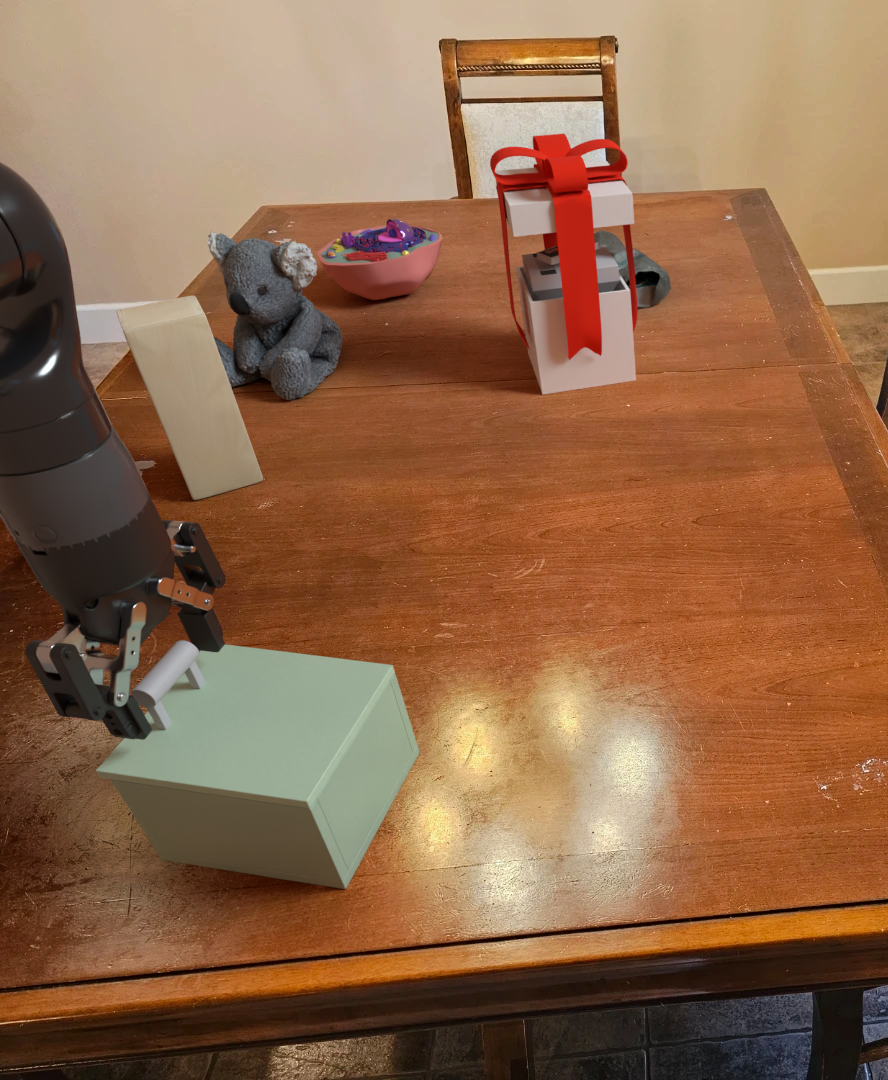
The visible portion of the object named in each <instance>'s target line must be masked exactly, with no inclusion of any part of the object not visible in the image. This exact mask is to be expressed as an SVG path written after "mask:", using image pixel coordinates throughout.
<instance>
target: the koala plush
mask: <svg viewBox="0 0 888 1080" xmlns="http://www.w3.org/2000/svg"><path fill="white" fill-rule="evenodd" d="M209 233H210V234H208V236H207V237H208V238H207V239H206V240H207V241H206V243H207V246H208V249H209V252H210V254H211V256H212V257H213V260H214V261H215V263H217V266H218V269H219V272H220V273H221V275H222V276H223V277H222V278H223V282H224V283H223V284H224V286H225V291H226V292H225V293H226V294H225V296H226V300H227V303H228V305H229V308H230V309H231V310H232V311H233V312H234V313H235V314H237V316H236V321H235V324H234V326H233V327H234V328H233V335H232V336H233V337H232V341H233V342H232V345H233V349H232V348H230V347H229V345H228V344H226V343H225V342H223V341H222V340H221V339H219V338H218V337H217V336H214V335H213V337H214V340H215V343H216V345H217V348H218V351H219V354H220V357H221V360H222V362H223V365H224V368H225V371H226V374H227V377H228V379H229V382H230V385H231V388H235V387H239V386H242V385H246V384H250V383H252V382H255V381H257V380H259V379H261V378H264V379H266V380H267V381H270V383H271V387H272V389H273V392H274V393H275V394H276V396H278V397H280V398H281V399H283V400H287V401H291V400H295V399H298V398H300V399H301V398H304V396H306V395H308V394H310V393H311V392H313V391H315V390H316V388H318V387H319V386H320V384H322V382H324V380H325V379H326V377H328V376H330V375H331V374H334V372H335V370H336V369H337V365H338V364H339V358H340V357H341V353H342V347H343V344H344V343H343V342H344V341H343V338H344V336H343V334H342V329H341V328H340V326H339V325H338V323H336V322H335V321H334V320H333V319H332V318H330V316H328V315H327V314H325V313H324V312H322V311H321V310H319V309H317V308H316V307H315V304H314V303H313V302H312V301H311V300H309V299H308V298H307V297H306V296H304V295H303V290H304V289H305V288H307V287H309V285H310V284H311V283H312V281H313V278H314V277H316V276H317V271H318V265H317V264H318V262H317V260H316V259H315V258H314V254H313V253H312V250H311V249H312V247H308V246H307V244H305V243H299V242H296V240H293V241H292V240H291V241H287V242H283V243H281V244H279V246H278V245H275V244H274V243H273V242H270V240H269V241H268V240H262V239H260V238H255V237H251V238H244V239H242V240H240V241H239V242H238V243H237V242H236V241H235V239H233V238H230V237H229V236H227V235H226V234H224V233H222V232H219V233H216V232H214V231H213V229H212V230H211V231H210V232H209Z"/></svg>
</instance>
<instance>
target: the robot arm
mask: <svg viewBox="0 0 888 1080" xmlns="http://www.w3.org/2000/svg"><path fill="white" fill-rule="evenodd" d="M72 273H73V272H72V267H71V262H70V256H69V252H68V247H67V244H66V241H65V239H64V236H63V232H62V230H61V227H60V225H59V223H58V220H57V219H56V217H55V216H54V213H53V211H52V210H51V208H50V206H49V205H48V204H47V203H46V201H45V200H44V198H43V197H42V196H41V194H40V193H39V192H38V191H37V189H35V187H33V185H31V183H29V181H27V179H25V177H23V176H22V175H21V174H20V173H18V172H17V171H15V170H14V169H13V168H11V167H10V166H8V165H7V164H6V163H3V162H2V161H0V519H1V520H2V522H3V524H4V525H5V528H6V529H7V530H8V532H9V534H10V535H11V537H12V539H13V540H14V542H15V544H16V545H17V547H18V549H19V551H20V552H21V554H22V556H23V558H24V559H25V561H26V563H27V564H28V566H29V568H30V570H31V571H32V572H33V574H34V576H35V578H36V579H37V581H38V583H39V585H40V586H41V588H42V589H43V590H44V591H45V592H46V593H47V594H48V595H49V596H50V597H51V598H53V599H54V600H55V601H56V602H57V603H58V604H59V606H60V608H61V610H62V617H63V618H62V619H63V627H61V628H60V629H59V630H58V631H56V633H54V634H53V635H52V636H51V637H50V638H48V639H47V640H40V639H33V640H31V641H30V642H28V644H27V645H26V647H25V650H24V652H25V653H24V654H25V657H26V658H27V661H28V663H29V664H30V666H31V667H32V669H33V672H34V673H35V675H36V677H37V678H38V680H39V682H40V684H41V686H42V688H43V689H44V691H45V694H46V695H47V697H48V698H49V700H50V702H51V704H52V706H53V707H54V710H55V711H56V713H57V714H58V716H59V717H64V718H75V719H82V720H83V719H84V720H88V721H93V722H98V721H102V722H103V724H104V726H105V727H106V729H107V731H108V733H109V734H110V735H111V736H113V737H115V738H120V739H124V738H126V739H134V740H135V739H141V740H144V739H146V737H147V736H148V735H149V734H150V733H151V731H152V728H151V726H150V724H149V722H148V721H147V719H146V717H145V714H144V712H143V710H142V708H141V706H140V705H139V704H138V703H137V701H136V700H135V698H134V696H132V695H131V694H130V687H131V677H132V671H133V670H136V669H137V668H138V667H139V662H140V652H141V645H142V644H143V643H144V642H145V641H146V640H147V639H148V638H149V636H150V635H151V634H152V632H153V630H154V628H155V627H157V626H158V625H160V624H161V623H162V622H164V621H165V620H166V619H167V618H168V617H169V616H170V615H171V612H170V608H171V606H172V607H176V608H180V609H179V611H178V612H176V614H177V616H178V618H179V621H180V623H181V625H182V627H183V628H184V631H185V632H186V635H187V637H188V638H189V642H190V643H192V644H193V645H194V646H196V648H197V649H198V650H199V652H200V651H209V652H219V651H220V650H221V648H222V647H223V646H224V645H225V644H226V642H225V641H224V638H223V637H224V631H223V628H222V625H221V624H220V621H219V618H218V616H217V614H216V612H215V610H214V608H213V607H214V606H215V598H214V597H215V596H213V595H214V592H215V590H216V589H221V588H223V587H224V585H225V584H226V581H227V580H226V579H227V578H226V574H225V572H224V571H223V568H222V566H221V564H220V562H219V560H218V558H217V556H216V554H215V552H214V551H213V549H212V546H211V545H210V542H209V541H208V538H207V537H206V534H205V532H204V531H203V528H202V526H201V525H200V524H199V523H198V522H191V521H183V520H182V521H180V520H173V519H162V517H161V516H160V513H159V511H158V509H157V507H156V505H155V502H154V500H153V499H152V497H151V494H150V492H149V490H148V488H147V486H146V483H145V482H144V479H143V477H142V475H141V473H140V471H139V468H138V466H137V464H136V462H135V460H134V458H133V457H132V454H131V453H130V451H129V450H128V448H127V446H126V445H125V443H124V442H123V440H122V439H121V438H120V436H119V434H118V433H117V431H116V429H115V427H114V426H113V423H112V422H111V419H110V418H109V415H108V413H107V410H106V409H105V407H104V404H103V403H102V401H101V398H100V396H99V394H98V391H97V390H96V387H95V386H94V383H93V381H92V379H91V377H90V375H89V373H88V371H87V369H86V367H85V363H84V357H83V349H82V337H81V330H80V329H81V328H80V323H79V318H78V311H77V304H76V295H75V288H74V280H73V274H72ZM175 565H176V567H177V569H178V570H179V572H180V575H181V576H182V578H183V580H184V581H185V583H186V584H185V583H183V582H180V581H177V580H176V579H175V578H174V577H175ZM101 644H104V645H107V646H115V647H118V654H117V655H115V654H114V655H113V654H105V653H104V652H102V649H101ZM105 671H108V672H109V685H104V678H105V677H104V676H105Z"/></svg>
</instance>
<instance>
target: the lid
mask: <svg viewBox="0 0 888 1080" xmlns="http://www.w3.org/2000/svg"><path fill="white" fill-rule="evenodd" d="M394 673H395V674H396V671H395V668H394V665H393V664H387V663H379V662H371V661H363V660H354V659H347V658H340V657H332V656H324V655H323V656H322V655H315V654H307V653H298V652H291V651H281V650H274V649H268V648H267V649H265V648H257V647H250V646H241V645H233V644H226V643H225V645H224V646H223V647H222V648H221V650H220V651H219V652H209V651H200V650H198V649H197V648H196V646H194V645H193V644H192V643H191V641H188V640H184V639H179V640H177V641H176V642H175V643H173V645H172V646H171V647H170V648H169V649H168V650H167V652H165V654H164V655H162V657H161V658H160V659H159V660H158V661H157V663H156V664H154V666H153V667H152V668H151V669H150V670H149V671H148V672H147V673H146V674H145V676H144V677H143V678H142V679H141V680H140V681H139V682H138V683H137V685H135V686H134V688H132V690H131V691H130V695H132V696H134V698H135V700H136V701H137V703H138V705H139V706H140V707H143V708H145V709H146V710H147V711H146V712H145V714H144V715H145V717H146V719H147V721H148V722H149V724H150V726H151V728H152V731H151V733H150V734H149V735H148V736H147V737H146V739H144V740H141V739H135V740H134V739H126V738H122V740H121V741H119V743H118V744H117V746H116V747H115V748H114V749H113V750H112V751H111V752H110V754H108V756H107V757H106V758H105V759H104V760H103V761H102V763H101V764H100V765H99V766H98V767H97V768H96V770H95V772H96V773H97V775H98V777H99V778H100V779H107V780H119V781H126V782H132V783H139V784H146V785H153V786H160V787H166V788H173V789H180V790H187V791H193V792H200V793H207V794H214V795H221V796H227V797H234V798H241V799H248V800H254V801H261V802H268V803H275V804H282V805H288V806H295V807H302V808H311V806H312V805H313V803H314V801H315V800H316V798H317V796H318V795H319V793H320V792H321V790H322V788H323V787H324V785H325V784H326V782H327V780H328V779H329V777H330V776H331V774H332V772H333V771H334V769H335V767H336V766H337V764H338V763H339V761H340V759H341V758H342V756H343V755H344V753H345V751H346V750H347V748H348V747H349V745H350V743H351V742H352V740H353V739H354V737H355V735H356V734H357V732H358V730H359V729H360V727H361V726H362V724H363V722H364V721H365V719H366V718H367V716H368V714H369V713H370V711H371V710H372V708H373V706H374V705H375V703H376V701H377V700H378V698H379V697H380V695H381V693H382V692H383V690H384V689H385V687H386V685H387V684H388V682H389V681H390V679H391V677H392V676H393V674H394Z"/></svg>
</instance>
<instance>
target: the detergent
mask: <svg viewBox="0 0 888 1080" xmlns="http://www.w3.org/2000/svg"><path fill="white" fill-rule="evenodd" d="M594 240H595V241H598V242H599V246H603V245H605V246H606V247H607V249H608V250H609V252H610V253H611V255H612V257H613V258H614V260H615V261H616V263H617V265H618V267H619V273H620V275H621V276H622V278H623V280H624V281H625V283H626V284H627V286H628V288H629V289H630V281H629V271H628V262H627V254H626V245H625V243H624V242H623V241H622V240H621V239H620V238H619V236H617V235H616V234H614V233H612V232H610V231H607V230H603V229H601V230H598V231H596V232H594ZM632 248H633V257H634V268H635V279H636V292H637V308H638V310H639V309H645V308H647V309H648V308H651V307H653V306H654V305H657V304H659V303H661V302H662V301H664V299H665V298H666V297H667V296H668V295H669V293H670V291H671V289H672V286H671V285H672V284H671V278H670V275H669V273H668V272H667V270H666V269H665V268H663V267H662V266H661V265H659V264H658V262H656V261H655V260H653V259H652V258H650V257H649V256H648V255H647V254H645V253H643V252H642V251H641V250H639V249H637V248H634V247H632Z"/></svg>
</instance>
